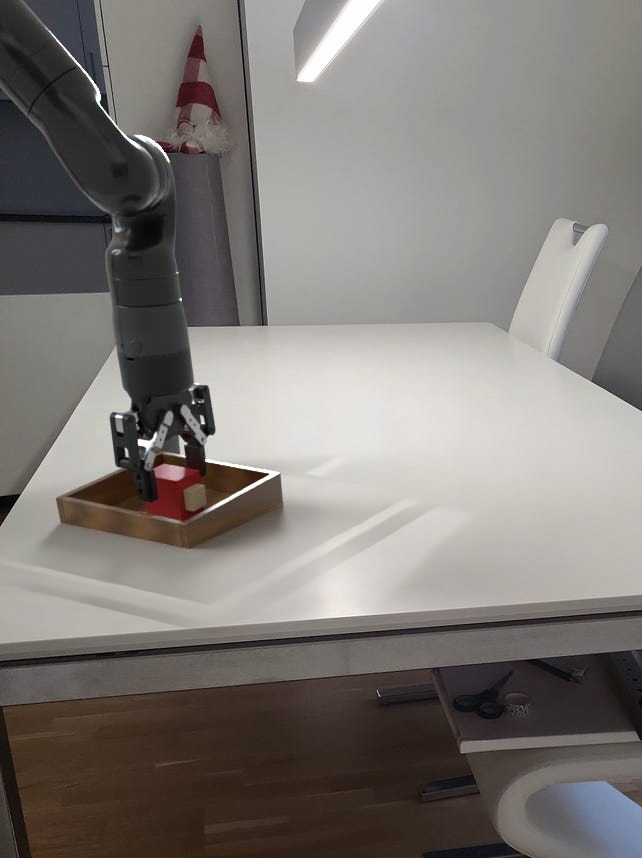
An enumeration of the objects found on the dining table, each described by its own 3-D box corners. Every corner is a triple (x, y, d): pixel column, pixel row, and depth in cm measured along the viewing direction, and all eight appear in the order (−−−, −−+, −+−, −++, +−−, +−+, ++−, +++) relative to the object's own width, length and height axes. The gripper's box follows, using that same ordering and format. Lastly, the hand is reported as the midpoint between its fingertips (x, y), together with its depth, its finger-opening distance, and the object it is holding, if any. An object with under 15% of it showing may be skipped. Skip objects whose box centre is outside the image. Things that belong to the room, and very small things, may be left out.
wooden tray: (62, 533, 116) (55, 497, 114) (165, 483, 131) (160, 450, 128) (190, 562, 110) (185, 525, 108) (283, 506, 124) (280, 472, 122)
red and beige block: (138, 513, 120) (132, 472, 117) (161, 502, 123) (155, 461, 120) (190, 524, 117) (185, 482, 115) (212, 512, 120) (207, 471, 118)
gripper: (168, 327, 118) (186, 464, 126) (77, 355, 106) (104, 504, 114) (222, 333, 115) (238, 473, 123) (135, 363, 104) (159, 515, 112)
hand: (173, 488), depth 119 cm, fingers open, 8 cm apart
